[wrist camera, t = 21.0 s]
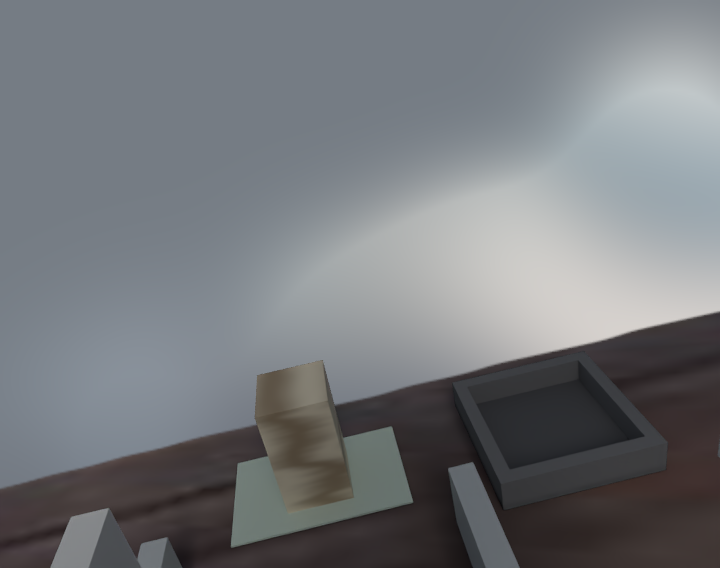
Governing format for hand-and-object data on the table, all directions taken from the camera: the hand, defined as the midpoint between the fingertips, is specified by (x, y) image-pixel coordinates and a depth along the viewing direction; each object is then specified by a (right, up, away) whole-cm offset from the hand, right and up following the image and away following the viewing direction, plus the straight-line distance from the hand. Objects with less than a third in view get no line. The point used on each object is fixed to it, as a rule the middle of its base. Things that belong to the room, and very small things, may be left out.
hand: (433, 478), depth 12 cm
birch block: (-5, -14, +41) cm, 44 cm away
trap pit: (+16, -10, +41) cm, 45 cm away
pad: (-5, -14, +41) cm, 44 cm away
